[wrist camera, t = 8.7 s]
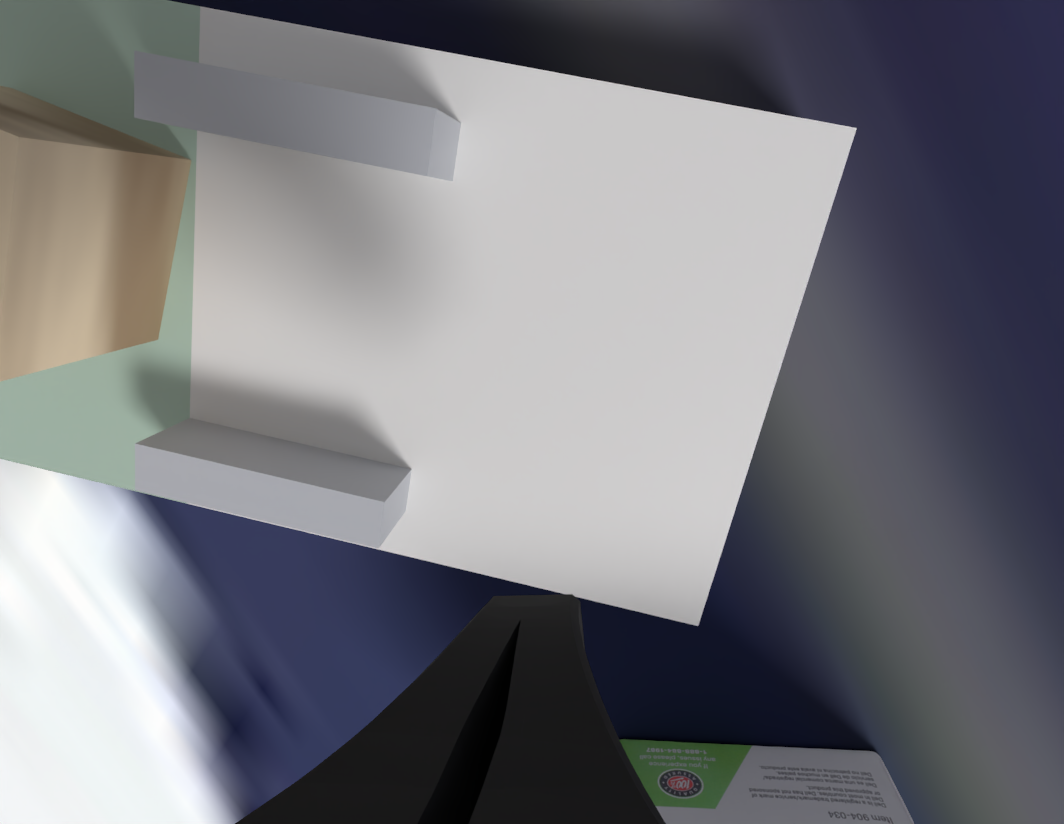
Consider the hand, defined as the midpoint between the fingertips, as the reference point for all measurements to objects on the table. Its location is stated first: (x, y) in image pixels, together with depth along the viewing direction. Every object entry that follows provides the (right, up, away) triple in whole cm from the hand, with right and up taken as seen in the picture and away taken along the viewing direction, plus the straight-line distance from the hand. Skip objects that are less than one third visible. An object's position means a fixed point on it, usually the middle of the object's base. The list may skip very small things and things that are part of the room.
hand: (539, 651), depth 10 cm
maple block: (-11, +8, +6) cm, 15 cm away
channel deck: (-8, +8, +9) cm, 14 cm away
